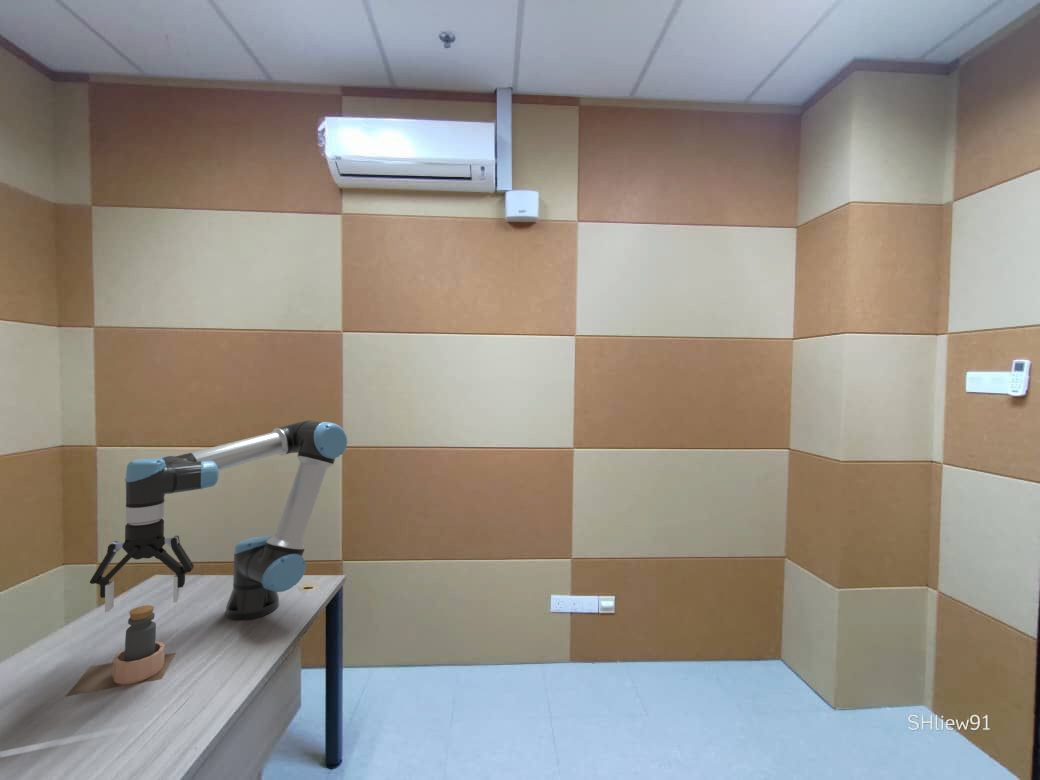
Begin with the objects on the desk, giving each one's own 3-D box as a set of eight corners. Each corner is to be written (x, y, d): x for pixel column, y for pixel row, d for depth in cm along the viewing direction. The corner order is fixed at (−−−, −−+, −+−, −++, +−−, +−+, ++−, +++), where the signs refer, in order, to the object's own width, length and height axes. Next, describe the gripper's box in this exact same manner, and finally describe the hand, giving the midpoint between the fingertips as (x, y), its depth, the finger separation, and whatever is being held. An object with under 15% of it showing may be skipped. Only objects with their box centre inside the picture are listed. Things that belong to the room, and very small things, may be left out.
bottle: (136, 678, 109) (139, 616, 110) (117, 674, 110) (120, 613, 111) (160, 664, 115) (162, 605, 115) (142, 661, 116) (144, 602, 117)
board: (176, 656, 121) (176, 652, 122) (161, 682, 110) (161, 678, 110) (90, 670, 114) (90, 666, 114) (65, 700, 103) (65, 696, 103)
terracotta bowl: (168, 657, 119) (169, 638, 119) (156, 679, 110) (156, 658, 110) (122, 665, 115) (123, 645, 115) (105, 688, 106) (106, 666, 106)
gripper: (207, 512, 121) (206, 590, 122) (88, 521, 112) (86, 606, 112) (200, 520, 115) (199, 602, 115) (72, 530, 105) (71, 621, 105)
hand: (143, 604), depth 113 cm, fingers open, 13 cm apart
